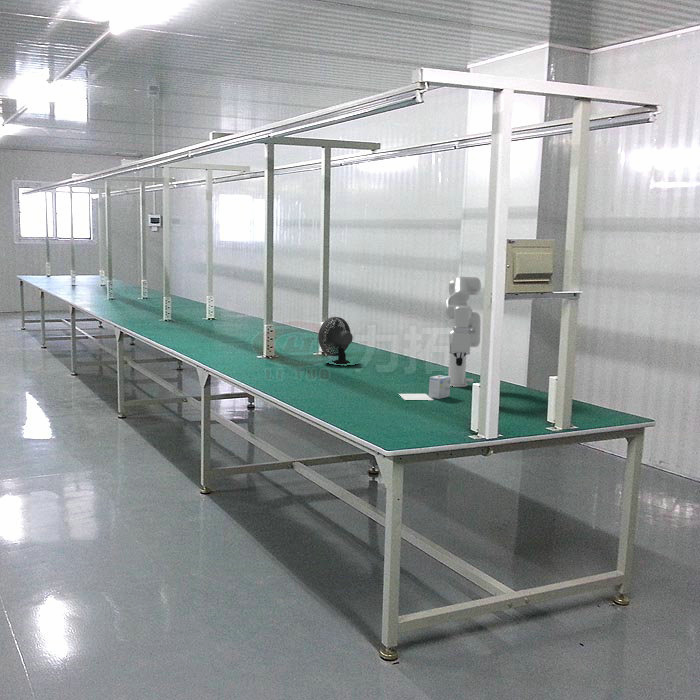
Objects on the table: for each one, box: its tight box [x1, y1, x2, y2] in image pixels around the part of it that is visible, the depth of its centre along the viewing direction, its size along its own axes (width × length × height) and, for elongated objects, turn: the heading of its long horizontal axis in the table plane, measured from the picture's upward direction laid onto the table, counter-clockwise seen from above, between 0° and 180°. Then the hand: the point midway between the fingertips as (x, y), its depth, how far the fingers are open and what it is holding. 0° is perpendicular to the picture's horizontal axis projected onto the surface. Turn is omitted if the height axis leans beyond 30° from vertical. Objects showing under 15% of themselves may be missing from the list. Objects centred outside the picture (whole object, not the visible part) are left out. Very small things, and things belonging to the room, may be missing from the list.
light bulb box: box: [428, 374, 451, 400], centre depth 395 cm, size 11×7×11 cm, turn 141°
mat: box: [398, 393, 434, 401], centre depth 393 cm, size 15×16×1 cm
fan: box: [317, 316, 354, 364], centre depth 495 cm, size 26×26×30 cm
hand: (459, 365), depth 394 cm, fingers closed
